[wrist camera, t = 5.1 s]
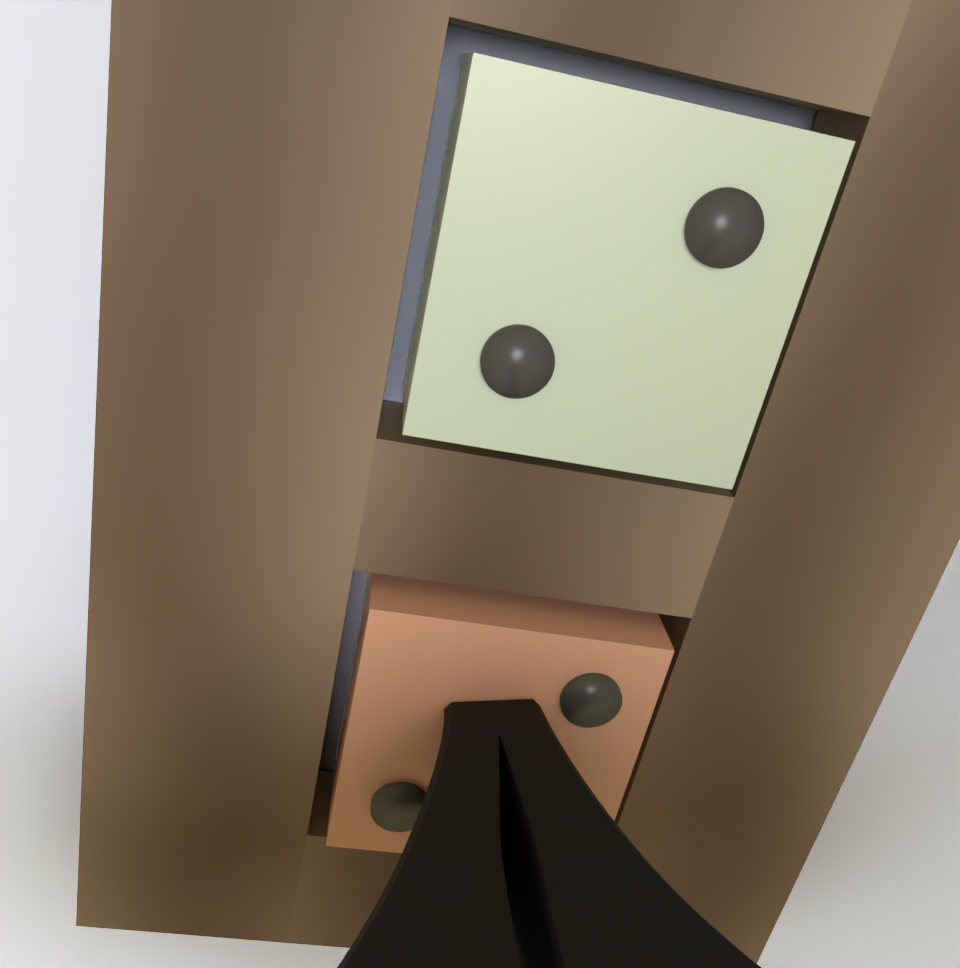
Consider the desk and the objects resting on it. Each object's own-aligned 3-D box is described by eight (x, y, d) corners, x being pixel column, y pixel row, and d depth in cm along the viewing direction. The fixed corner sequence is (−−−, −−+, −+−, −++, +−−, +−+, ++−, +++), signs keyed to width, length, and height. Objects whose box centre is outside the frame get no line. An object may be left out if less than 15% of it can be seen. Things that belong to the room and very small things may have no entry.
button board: (1506, -863, 9) (1711, -1035, 7) (723, 911, 18) (748, 980, 17) (227, -1465, 7) (183, -1843, 6) (103, 854, 16) (76, 925, 15)
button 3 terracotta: (642, 578, 15) (676, 655, 13) (575, 784, 17) (597, 878, 15) (374, 539, 14) (369, 613, 12) (335, 757, 16) (325, 852, 14)
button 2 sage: (788, 129, 12) (859, 142, 10) (689, 433, 14) (735, 493, 12) (463, 53, 11) (474, 51, 9) (403, 383, 13) (402, 438, 11)
